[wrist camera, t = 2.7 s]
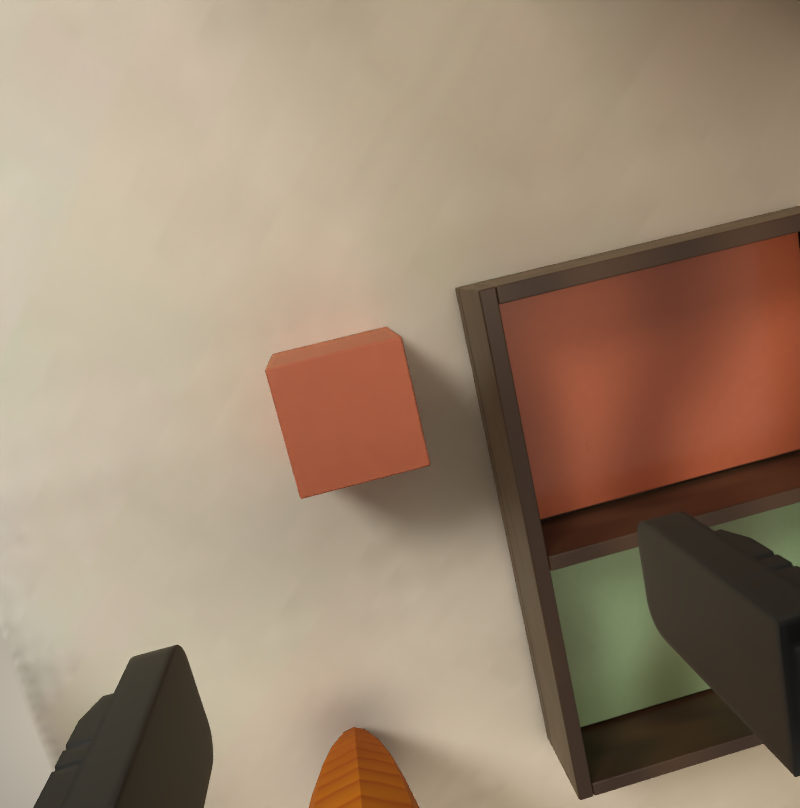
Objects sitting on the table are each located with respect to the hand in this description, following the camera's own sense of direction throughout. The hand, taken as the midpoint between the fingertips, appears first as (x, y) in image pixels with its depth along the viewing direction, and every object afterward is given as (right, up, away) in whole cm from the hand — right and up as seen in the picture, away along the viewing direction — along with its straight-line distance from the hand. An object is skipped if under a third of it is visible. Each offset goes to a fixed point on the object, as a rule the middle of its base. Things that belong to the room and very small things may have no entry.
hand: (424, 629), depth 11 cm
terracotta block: (-3, +4, +14) cm, 15 cm away
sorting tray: (+11, 0, +16) cm, 20 cm away
